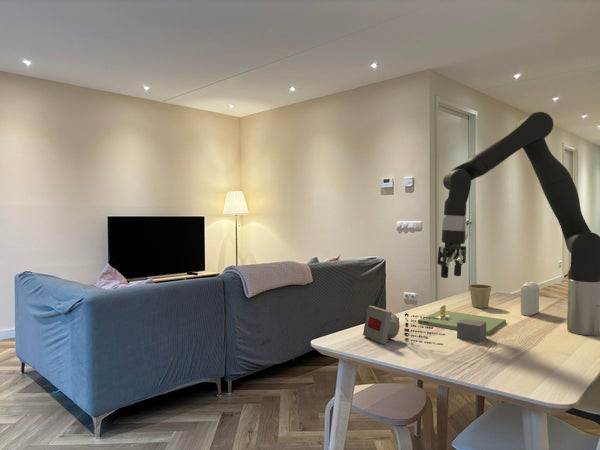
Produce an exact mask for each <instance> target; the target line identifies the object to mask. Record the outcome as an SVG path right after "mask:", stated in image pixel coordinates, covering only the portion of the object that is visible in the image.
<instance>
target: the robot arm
mask: <svg viewBox="0 0 600 450" xmlns="http://www.w3.org/2000/svg"><path fill="white" fill-rule="evenodd" d="M553 128H554V120H553V117H552V116H550V114H549V113H547V112H544V111H535V112H533V113H530V114H528V115H527V116H526V117H524V118H522V119H521V120H520V121H518V123H517V124H516V125H515V129H514V130H512V131H511V132H510V133H508V134H507V135H505V136H504V137H501V139H499V140H497V141H495V142H494V143H492V144H490V145H489V146H487V147H486V148H484V149H482V150H481V151H479V152H477V153H476V154H475V155H473V156H472V157H471V158H469V159H468V160H467V161H464V162H463V163H461V164H460V165H457V166H456V167H453V168H452V169H450V170H449V171H448V172H447V173H445V174H444V177H443V180H442V184H443V187H444V188H445V189H446V190H448V196H447V198H446V199H445V201H444V206H443V219H442V224H441V225H442V226H441V227H442V229H441V242H442V243H443V244H444V246H438V251H437V252H438V253H437V265H439V266H440V267H441V270H440V278H443V279H448V277H449V269H450V268H449V266H450V263H451V262H454V269H453V275H454V277H455V276H456V277H461V276H462V266H463V265H464V264H465V263H467V261H466V260H467V246H466V245H464V244H465V243H466V230H467V216H466V215H467V202H468V200H469V196H470V191H471V185H472V181H473V180H474V179H477V178H479V177H482V176H484V175H486V174H487V173H488V172H490V171H491V170H493V169H495V168H496V167H497V166H499V165H500V164H502V162H504V161H506V160H507V159H509V157H511V156H512V155H514V154H515V153H516V152H518V151H520V150H521V149H523V151H524V152H525V153H524V154H526V156H527V157H528V159H529V162H530V163H531V166H532V168H533V171H534V174H535V175H536V177H537V180H538V182H539V185H540V187H541V190H542V192H543V194H544V197H545V198H546V201H547V203H548V204H549V207H550V209H551V210H552V212H553V214H554V216H555V218H556V219H557V221H558V224H559V226H560V229H561V231H562V232H561V233H562V235H563V238H564V242H565V246H566V248H567V251H568V252H569V253H570V267H569V269H568V271H567V315H566V316H567V318H566V319H567V320H566V321H567V323H566V325H567V327H566V329H567V331H568V332H571V333H573V334H577V335H583V336H597V337H599V336H600V235H599V234H597V233H595V232H593V231H591V229H590V227H589V225H588V224H587V222H586V219H585V218H584V215H583V213H582V209H581V202H580V196H579V193H578V189H577V187H576V184H575V182H574V180H573V177H572V175H571V174H570V171H569V170H568V169H567V167H566V166H565V165H563V163H561V161H559V160H558V159H557V158H556V157H555V156H554V155H553V153H552V152H551V150H550V149H549V146H548V143H547V142H546V138H547V137H548V136H549V135H550V134H551V133H552V131H553V130H554V129H553Z"/></svg>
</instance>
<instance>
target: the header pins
mask: <svg viewBox="0 0 600 450" xmlns="http://www.w3.org/2000/svg"><path fill="white" fill-rule="evenodd" d="M446 306H447V305H446V304H443V305H440V307H439V308H440V310H439V311H440V317H442V318H443V317H444V316H446V311H447V309H446Z"/></svg>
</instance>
